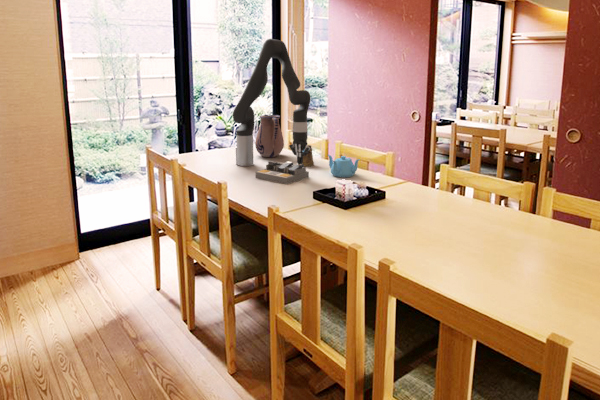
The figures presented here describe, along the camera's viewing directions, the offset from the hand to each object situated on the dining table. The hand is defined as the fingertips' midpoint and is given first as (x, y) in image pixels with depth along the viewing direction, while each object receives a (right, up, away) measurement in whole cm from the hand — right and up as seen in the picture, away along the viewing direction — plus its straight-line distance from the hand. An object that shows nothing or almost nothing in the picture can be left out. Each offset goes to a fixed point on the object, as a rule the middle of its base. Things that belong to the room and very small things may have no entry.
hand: (300, 163), depth 266 cm
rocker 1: (-13, 0, +6) cm, 15 cm away
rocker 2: (-8, -1, +2) cm, 8 cm away
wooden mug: (+2, +2, +32) cm, 32 cm away
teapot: (+22, -6, +6) cm, 24 cm away
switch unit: (-9, -7, +2) cm, 12 cm away
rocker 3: (-2, -2, -2) cm, 4 cm away
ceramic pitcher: (-18, +8, +52) cm, 55 cm away
